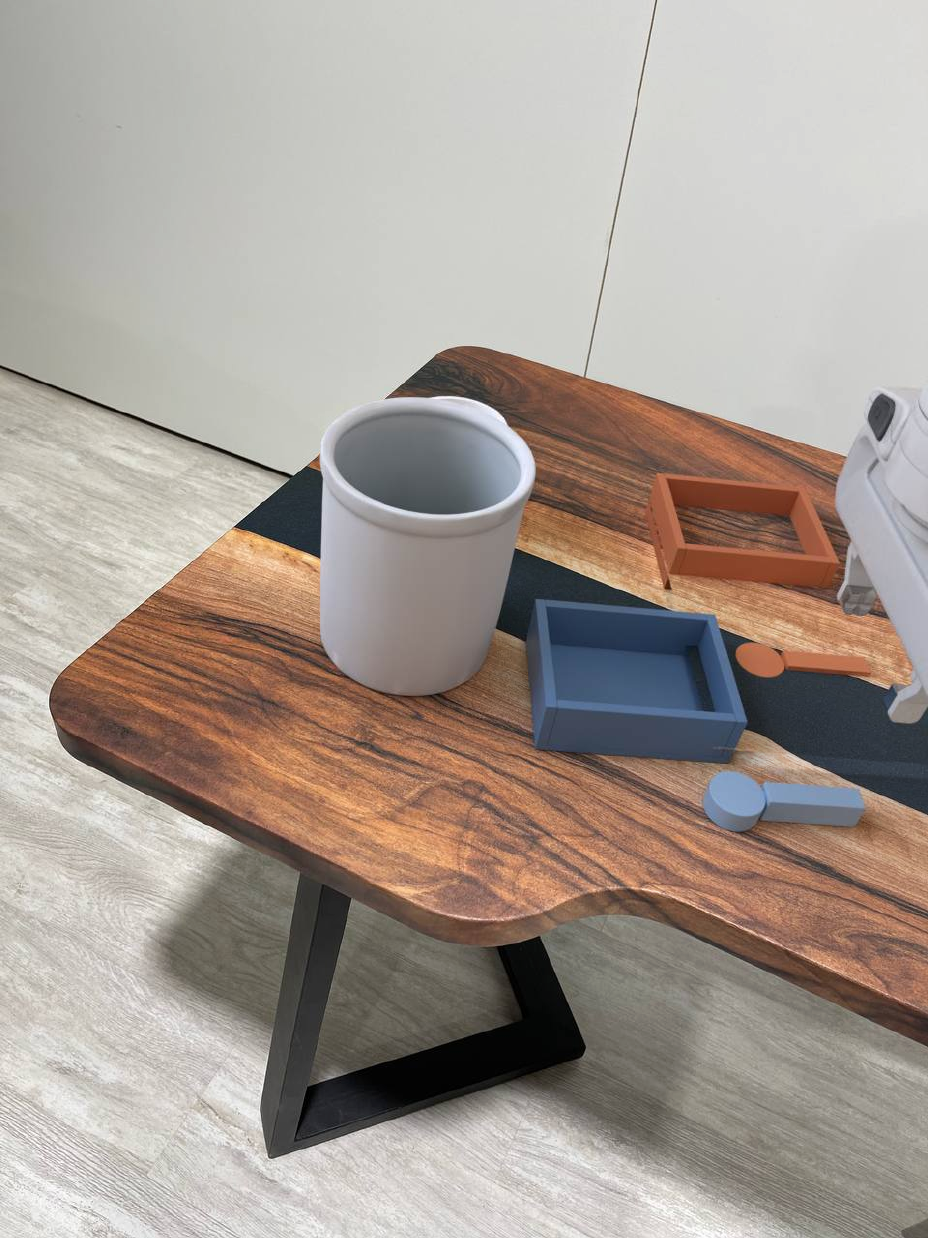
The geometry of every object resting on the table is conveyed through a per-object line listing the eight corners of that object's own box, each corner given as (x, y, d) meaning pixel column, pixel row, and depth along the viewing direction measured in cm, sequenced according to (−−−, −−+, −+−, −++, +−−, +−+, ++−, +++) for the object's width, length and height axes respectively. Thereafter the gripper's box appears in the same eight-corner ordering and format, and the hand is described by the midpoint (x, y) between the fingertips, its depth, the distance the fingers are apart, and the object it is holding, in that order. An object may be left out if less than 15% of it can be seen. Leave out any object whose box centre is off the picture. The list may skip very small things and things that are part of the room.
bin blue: (699, 655, 84) (715, 614, 81) (728, 764, 75) (747, 722, 72) (525, 640, 83) (535, 598, 79) (534, 749, 74) (546, 706, 71)
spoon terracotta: (850, 666, 85) (860, 648, 84) (865, 701, 82) (876, 682, 81) (724, 656, 84) (732, 636, 83) (734, 690, 81) (743, 671, 80)
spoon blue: (842, 795, 74) (854, 776, 73) (859, 840, 71) (871, 821, 70) (697, 784, 73) (706, 765, 72) (708, 830, 70) (717, 810, 69)
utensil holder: (517, 699, 77) (561, 514, 66) (322, 711, 74) (332, 517, 62) (477, 575, 88) (509, 397, 76) (304, 580, 85) (310, 394, 73)
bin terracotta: (788, 525, 100) (805, 487, 97) (821, 602, 91) (840, 563, 88) (644, 511, 99) (656, 472, 96) (664, 588, 90) (677, 547, 87)
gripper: (1130, 606, 46) (986, 795, 56) (961, 385, 62) (870, 562, 71) (1001, 592, 46) (877, 786, 55) (863, 373, 61) (784, 553, 70)
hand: (872, 658), depth 63 cm, fingers open, 8 cm apart
